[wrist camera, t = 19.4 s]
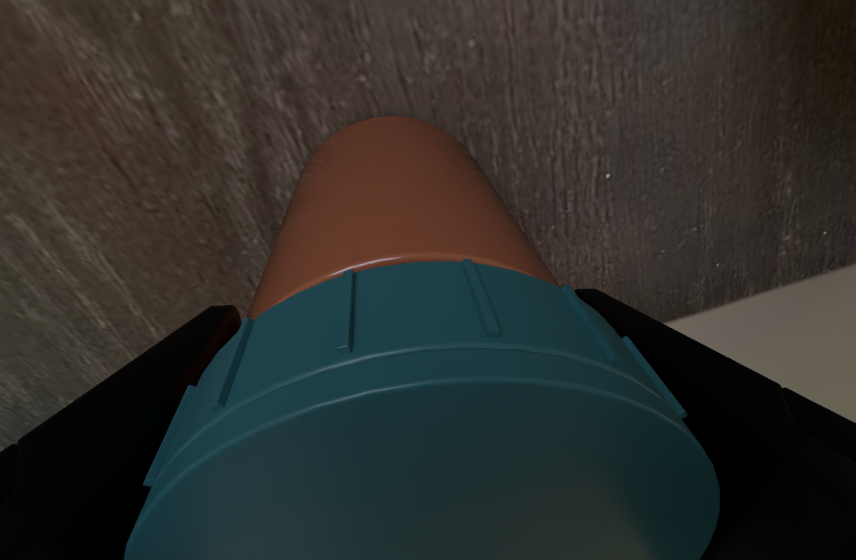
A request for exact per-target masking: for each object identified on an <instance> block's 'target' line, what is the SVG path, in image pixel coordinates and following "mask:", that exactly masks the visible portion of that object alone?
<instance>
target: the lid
mask: <svg viewBox="0 0 856 560" xmlns="http://www.w3.org/2000/svg"><path fill="white" fill-rule="evenodd" d="M687 416H688V415H687V413H686V412H685V410H684V409H683V408H682V406H681V405H680V404H679V402H678V401H677V400H676V399H675V397H674V396H673V395H672V393H671V392H670V391H669V389H668V388H667V387H666V386H665V384H664V383H663V382H662V380H661V379H660V378H659V376H658V375H657V374H656V373H655V371H654V370H653V369H652V367H651V366H650V365H649V364H648V362H647V361H646V360H645V358H644V357H643V356H642V354H641V353H640V352H639V351H638V349H637V348H636V347H635V345H634V344H633V343H632V341H631V340H630V339H629V338H628V336H625V337H623V338H621V337H620V336H619V335H618V333H617V332H616V331H615V329H614V328H613V327H612V326H611V325H610V324H609V323H608V322H607V321H606V320H605V319H604V318H603V317H602V316H601V315H600V314H599V313H598V312H597V311H596V310H595V309H593V308H592V307H590V306H589V305H588V304H586V303H585V302H584V301H582V300H581V299H579V297H578V296H577V295H576V293H575V292H574V290H573V289H572V288H571V287H570V286H568V285H566V284H565V285H564V286H563V287H562V288H560V287H558V286H556V285H554V284H552V283H550V282H548V281H545V280H542V279H539V278H536V277H533V276H530V275H527V274H524V273H521V272H519V271H515V270H511V269H506V268H501V267H496V266H491V265H486V264H479V263H473V261H472V259H466V258H463V259H462V262H453V261H431V262H407V263H401V264H394V265H388V266H381V267H375V268H369V269H365V270H362V271H358V272H354V271H353V269H350V270H346V271H343V276H340V277H336V278H332V279H330V280H327V281H325V282H323V283H320V284H318V285H315V286H313V287H310V288H308V289H305V290H303V291H300V292H298V293H296V294H294V295H293V296H291V297H289V298H287V299H285V300H284V301H282V302H280V303H278V304H276V305H275V306H273V307H271V308H269V309H268V310H266V311H265V312H263V313H262V314H261V315H259V316H258V317H257V318H255V319H254V320H253V319H251V318H250V317H247V318H246V319H245V320H243V321H242V324H241V326H240V329H239V331H238V332H237V333H236V334H235V335H234V336H233V337H232V338H231V339H230V340H229V341H228V342H227V343H226V344H225V345H224V346H223V347H222V348H221V349H220V350H219V351H218V353H217V354H216V355H215V357H214V358H213V360H212V361H211V362H210V364H209V365H208V367H207V368H206V369H205V371H204V372H203V374H202V375H201V377H200V380H199V382H198V384H197V386H192V385H188V387H187V390H186V392H185V394H184V396H183V398H182V400H181V403H180V405H179V407H178V409H177V411H176V413H175V416H174V418H173V420H172V422H171V424H170V426H169V429H168V431H167V433H166V435H165V437H164V439H163V442H162V444H161V446H160V448H159V450H158V452H157V454H156V457H155V459H154V461H153V463H152V465H151V467H150V470H149V472H148V474H147V476H146V478H145V480H144V483H143V485H145V486H149V487H151V490H150V492H149V494H148V496H147V499H146V501H145V504H144V506H143V508H142V510H141V512H140V515H139V517H138V519H137V521H136V524H135V526H134V528H133V530H132V533H131V535H130V537H129V539H128V542H127V544H126V550H125V555H124V560H700V558H701V557H702V555H703V554H704V552H705V551H706V549H707V548H708V546H709V543H710V541H711V539H712V537H713V534H714V532H715V530H716V527H717V522H718V518H719V513H720V508H721V507H720V486H719V483H718V479H717V476H716V473H715V470H714V466H713V464H712V462H711V460H710V459H709V457H708V456H707V454H706V452H705V451H704V449H703V448H702V446H701V444H700V443H699V442H698V440H697V439H696V438H695V436H694V435H693V434H692V432H691V431H690V430H689V428H688V427H687V426H686V424H685V423H684V422H683V420H682V419H683V418H685V417H687Z"/></svg>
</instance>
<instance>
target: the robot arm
mask: <svg viewBox="0 0 856 560" xmlns="http://www.w3.org/2000/svg"><path fill="white" fill-rule="evenodd" d="M574 292H575V293H576V295H577V296H578V297H579V299H581V300H582V301H584V302H585V303H586V304H588V305H589V306H590V307H592V308H593V309H595V310H596V311H597V312H598V313H599V314H600V315H601V316H602V317H603V318H604V319H605V320H606V321H607V322H608V323H609V324H610V325H611V326H612V327H613V328H614V329H615V331H616V332H617V333H618V335H619V336H620V337H621V338H623V337H625V336H628V338H629V339H630V340H631V341H632V343H633V344H634V345H635V347H636V348H637V349H638V351H639V352H640V353H641V354H642V356H643V357H644V358H645V360H646V361H647V362H648V364H649V365H650V366H651V367H652V369H653V370H654V371H655V373H656V374H657V375H658V376H659V378H660V379H661V380H662V382H663V383H664V384H665V386H666V387H667V388H668V389H669V391H670V392H671V393H672V395H673V396H674V397H675V399H676V400H677V401H678V402H679V404H680V405H681V406H682V408H683V409H684V410H685V412H686V413H687V415H688V416H687V417H685V418H683V419H682V420H683V422H684V423H685V424H686V426H687V427H688V428H689V430H690V431H691V432H692V434H693V435H694V436H695V438H696V439H697V440H698V442H699V443H700V444H701V446H702V448H703V449H704V451H705V452H706V454H707V456H708V457H709V459H710V460H711V462H712V464H713V466H714V470H715V473H716V476H717V479H718V483H719V486H720V507H721V508H720V513H719V518H718V522H717V527H716V530H715V532H714V534H713V537H712V539H711V541H710V543H709V546H708V548H707V549H706V551H705V552H704V554H703V555H702V557H701V558H700V560H856V423H854V422H852V421H850V420H848V419H846V418H844V417H842V416H841V415H839V414H836V413H835V412H832V411H831V410H829V409H827V408H825V407H823V406H821V405H819V404H817V403H815V402H813V401H811V400H809V399H807V398H805V397H803V396H801V395H799V394H797V393H795V392H794V391H792V390H790V389H788V388H782V387H781V385H780V384H778V383H776V382H774V381H772V380H770V379H768V378H766V377H764V376H763V375H761V374H759V373H757V372H755V371H753V370H751V369H749V368H747V367H745V366H743V365H741V364H739V363H737V362H736V361H734V360H732V359H730V358H728V357H726V356H724V355H722V354H720V353H718V352H716V351H714V350H713V349H711V348H709V347H707V346H705V345H703V344H701V343H699V342H697V341H695V340H693V339H691V338H689V337H687V336H686V335H683V334H682V333H680V332H678V331H676V330H674V329H672V328H670V327H668V326H666V325H664V324H662V323H661V322H659V321H657V320H655V319H653V318H651V317H649V316H647V315H645V314H643V313H641V312H639V311H637V310H636V309H634V308H632V307H630V306H628V305H626V304H624V303H622V302H620V301H618V300H616V299H614V298H612V297H611V296H609V295H607V294H605V293H603V292H601V291H599V290H597V289H593V288H592V289H576V290H574ZM241 324H242V323H241V319H240V315H239V311H238V310H237V308H236V307H235V306H233V305H224V306H211V307H209V308H207V309H206V310H205V311H203V312H202V313H200V314H199V315H197V316H196V317H195V318H193V319H192V320H190V321H189V322H187V323H186V324H184V325H183V326H182V327H180V328H179V329H177V330H176V331H174V332H173V333H171V334H170V335H169V336H167V337H166V338H164V339H163V340H161V341H160V342H159V343H157V344H156V345H154V346H153V347H151V348H150V349H148V350H147V351H146V352H144V353H143V354H141V355H140V356H138V357H137V358H136V359H134V360H133V361H131V362H130V363H128V364H127V365H125V366H124V367H123V368H121V369H120V370H118V371H117V372H115V373H114V374H112V375H111V376H110V377H108V378H107V379H105V380H104V381H102V382H101V383H99V384H98V385H97V386H95V387H94V388H92V389H91V390H89V391H88V392H87V393H85V394H84V395H82V396H81V397H79V398H78V399H76V400H75V401H74V402H72V403H71V404H69V405H68V406H66V407H65V408H63V409H62V410H61V411H59V412H58V413H56V414H55V415H53V416H52V417H50V418H49V419H48V420H46V421H45V422H43V423H42V424H40V425H39V426H37V427H36V428H35V429H33V430H32V431H30V432H29V433H27V434H26V435H25V436H23V437H22V438H20V439H19V440H18V443H17V444H12V445H10V446H8V447H7V448H6V449H4V450H3V451H1V452H0V560H124V555H125V550H126V544H127V542H128V539H129V537H130V535H131V533H132V530H133V528H134V526H135V524H136V521H137V519H138V517H139V515H140V512H141V510H142V508H143V506H144V504H145V501H146V499H147V496H148V494H149V492H150V490H151V487H149V486H145V485H143V483H144V480H145V478H146V476H147V474H148V472H149V470H150V467H151V465H152V463H153V461H154V459H155V457H156V454H157V452H158V450H159V448H160V446H161V444H162V442H163V439H164V437H165V435H166V433H167V431H168V429H169V426H170V424H171V422H172V420H173V418H174V416H175V413H176V411H177V409H178V407H179V405H180V403H181V400H182V398H183V396H184V394H185V392H186V390H187V387H188V385H192V386H197V384H198V382H199V380H200V377H201V375H202V374H203V372H204V371H205V369H206V368H207V367H208V365H209V364H210V362H211V361H212V360H213V358H214V357H215V355H216V354H217V353H218V351H219V350H220V349H221V348H222V347H223V346H224V345H225V344H226V343H227V342H228V341H229V340H230V339H231V338H232V337H233V336H234V335H235V334H236V333H237V332H238V331H239V329H240V326H241Z"/></svg>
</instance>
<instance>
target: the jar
mask: <svg viewBox="0 0 856 560" xmlns="http://www.w3.org/2000/svg"><path fill="white" fill-rule="evenodd" d="M463 258H466V259H472V261H473V263H479V264H486V265H491V266H496V267H501V268H506V269H511V270H515V271H519V272H521V273H524V274H527V275H530V276H533V277H536V278H539V279H542V280H545V281H548V282H550V283H552V284H554V285H556V286H558V287H560V286H559V284H558V283H557V281H556V280H555V278H554V277H553V275H552V274H551V272H550V271H549V269H548V268H547V266H546V265H545V263H544V262H543V260H542V259H541V257H540V256H539V254H538V253H537V252H536V250H535V249H534V247H533V246H532V244H531V243H530V241H529V240H528V238H527V237H526V235H525V234H524V232H523V231H522V229H521V228H520V226H519V225H518V223H517V222H516V220H515V219H514V217H513V216H512V214H511V213H510V211H509V210H508V208H507V207H506V205H505V204H504V202H503V201H502V199H501V198H500V196H499V195H498V193H497V192H496V190H495V189H494V188H493V186H492V185H491V183H490V182H489V180H488V179H487V177H486V176H485V174H484V173H483V171H482V170H481V168H480V167H479V165H478V164H477V162H476V161H475V159H474V158H473V156H472V155H471V154H470V152H469V151H468V150H467V149H466V148H465V147H464V145H463V144H461V143H460V142H459V141H458V140H457V139H456V138H454V137H453V136H452V135H450V134H449V133H447V132H446V131H444V130H443V129H441V128H439V127H437V126H434V125H432V124H430V123H427V122H424V121H421V120H418V119H413V118H407V117H396V116H385V117H376V118H371V119H367V120H363V121H359V122H357V123H354V124H352V125H349V126H347V127H345V128H343V129H341V130H340V131H338V132H336V133H334V134H333V135H332V136H331V137H329V138H328V139H327V140H325V141H324V142H323V143H322V144H321V145H320V146H319V147H318V148H317V149H316V150H315V151H314V153H313V154H312V155H311V157H310V158H309V160H308V161H307V162H306V164H305V166H304V168H303V170H302V172H301V174H300V177H299V179H298V182H297V185H296V187H295V190H294V192H293V195H292V198H291V200H290V203H289V206H288V208H287V211H286V214H285V216H284V219H283V222H282V224H281V227H280V229H279V232H278V235H277V237H276V240H275V243H274V245H273V248H272V251H271V253H270V256H269V259H268V261H267V264H266V266H265V269H264V272H263V274H262V277H261V280H260V282H259V285H258V288H257V290H256V293H255V296H254V298H253V301H252V303H251V306H250V309H249V311H248V314H247V317H250V318H251V319H253V320H254V319H255V318H257V317H258V316H259V315H261V314H262V313H263V312H265V311H266V310H268V309H269V308H271V307H273V306H275V305H276V304H278V303H280V302H282V301H284V300H285V299H287V298H289V297H291V296H293V295H294V294H296V293H298V292H300V291H303V290H305V289H308V288H310V287H313V286H315V285H318V284H320V283H323V282H325V281H327V280H330V279H332V278H336V277H340V276H343V271H346V270H350V269H353V271H354V272H358V271H362V270H365V269H369V268H375V267H381V266H388V265H394V264H401V263H407V262H431V261H453V262H462V259H463ZM560 288H561V287H560ZM247 317H246V318H247Z"/></svg>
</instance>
